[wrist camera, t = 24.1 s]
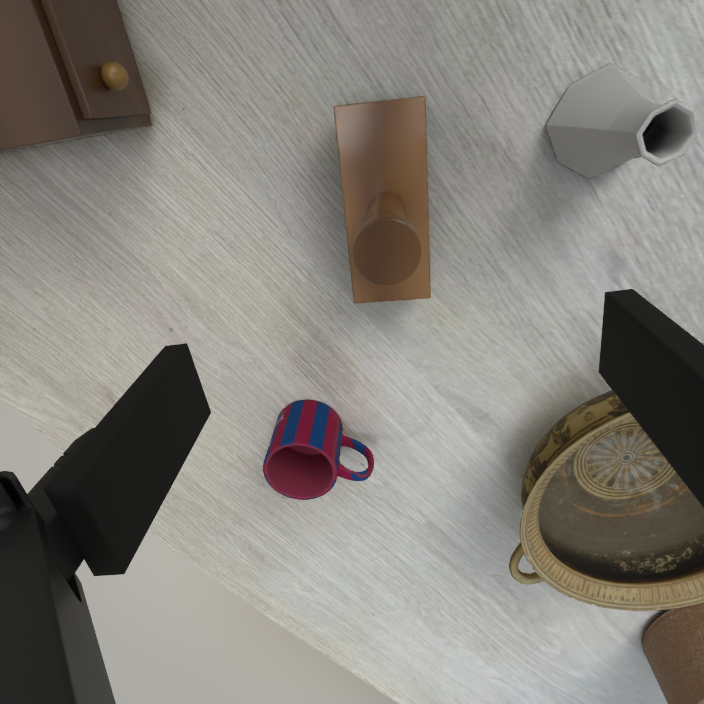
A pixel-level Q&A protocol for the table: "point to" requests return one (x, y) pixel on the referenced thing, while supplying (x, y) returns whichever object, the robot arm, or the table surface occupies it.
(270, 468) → the mug
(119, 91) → the cabinet
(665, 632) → the planter
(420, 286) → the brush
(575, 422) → the ceramic bowl
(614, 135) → the flask
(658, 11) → the table surface
